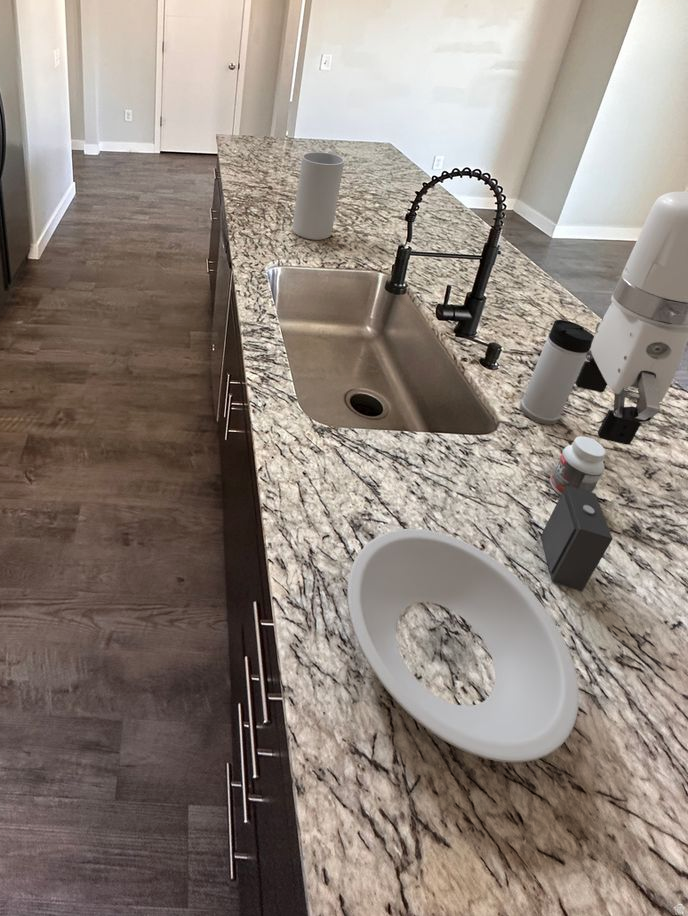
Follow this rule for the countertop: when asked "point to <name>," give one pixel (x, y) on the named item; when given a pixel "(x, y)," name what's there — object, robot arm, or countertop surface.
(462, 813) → the countertop surface
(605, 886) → the countertop surface
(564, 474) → the pill bottle
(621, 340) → the robot arm
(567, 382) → the travel mug
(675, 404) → the countertop surface
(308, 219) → the cylinder vase
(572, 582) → the dark gray rectangular block
